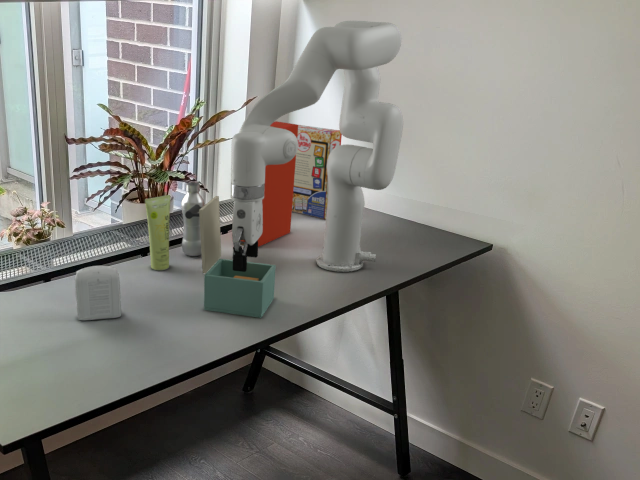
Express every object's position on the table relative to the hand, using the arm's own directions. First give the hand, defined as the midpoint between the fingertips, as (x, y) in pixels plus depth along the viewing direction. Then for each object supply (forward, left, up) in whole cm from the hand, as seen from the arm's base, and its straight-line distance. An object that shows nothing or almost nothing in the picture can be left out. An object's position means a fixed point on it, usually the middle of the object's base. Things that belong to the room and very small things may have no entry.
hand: (245, 263), depth 171 cm
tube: (+26, -20, -11) cm, 35 cm away
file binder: (+1, -51, -11) cm, 53 cm away
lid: (+8, -1, +6) cm, 10 cm away
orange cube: (0, 0, -10) cm, 10 cm away
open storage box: (+1, 0, -11) cm, 10 cm away
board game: (-9, -80, -11) cm, 82 cm away
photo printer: (+32, +14, -11) cm, 36 cm away
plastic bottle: (+19, -32, -11) cm, 39 cm away
